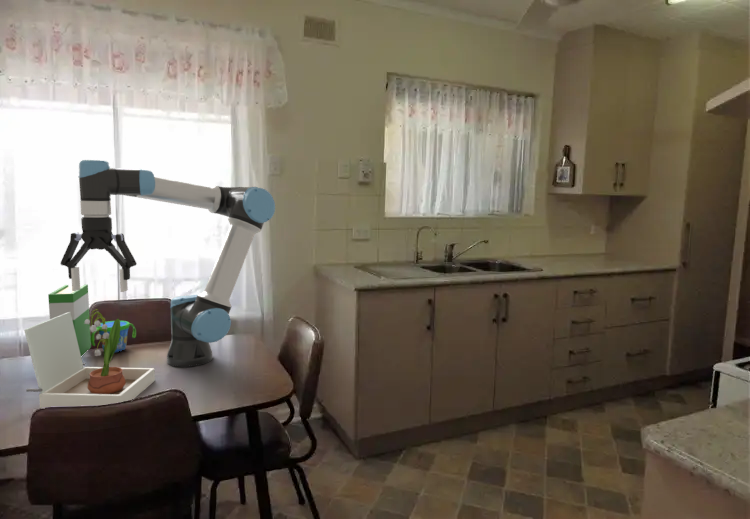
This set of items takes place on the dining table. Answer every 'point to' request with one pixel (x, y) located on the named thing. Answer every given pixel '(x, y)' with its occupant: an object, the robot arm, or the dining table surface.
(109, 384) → the potted flower
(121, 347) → the snack cup
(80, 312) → the hardback book
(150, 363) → the dining table surface
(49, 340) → the white open hinged box
